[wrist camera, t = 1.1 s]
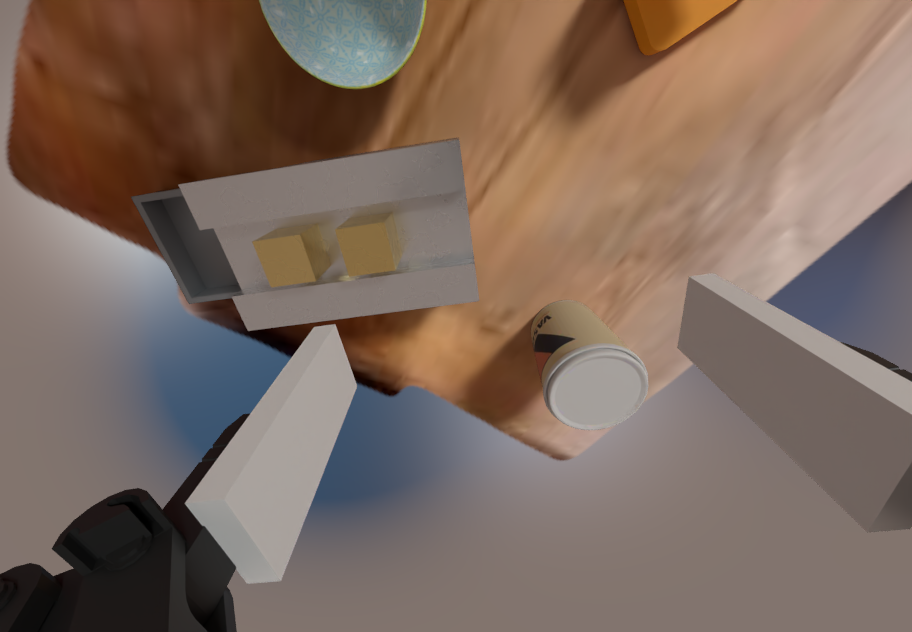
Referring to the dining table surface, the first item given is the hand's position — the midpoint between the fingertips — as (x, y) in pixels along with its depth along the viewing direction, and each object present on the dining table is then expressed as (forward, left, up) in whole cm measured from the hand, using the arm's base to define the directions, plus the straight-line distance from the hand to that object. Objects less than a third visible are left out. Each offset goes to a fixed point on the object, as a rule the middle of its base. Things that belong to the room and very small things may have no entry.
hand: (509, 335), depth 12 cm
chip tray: (0, -25, -26) cm, 36 cm away
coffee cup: (+16, +9, -26) cm, 32 cm away
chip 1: (0, -14, -17) cm, 22 cm away
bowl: (-16, -7, -26) cm, 32 cm away
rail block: (0, -11, -26) cm, 28 cm away
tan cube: (0, -8, -17) cm, 19 cm away
